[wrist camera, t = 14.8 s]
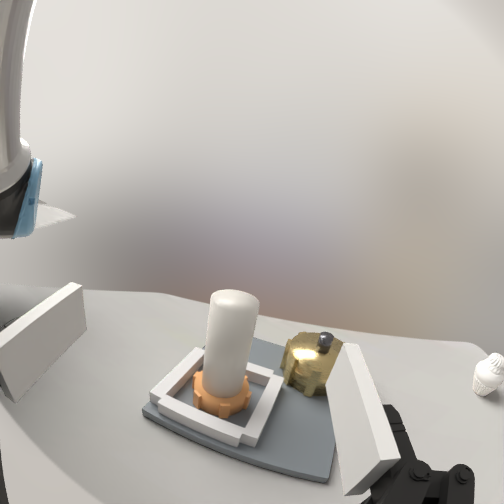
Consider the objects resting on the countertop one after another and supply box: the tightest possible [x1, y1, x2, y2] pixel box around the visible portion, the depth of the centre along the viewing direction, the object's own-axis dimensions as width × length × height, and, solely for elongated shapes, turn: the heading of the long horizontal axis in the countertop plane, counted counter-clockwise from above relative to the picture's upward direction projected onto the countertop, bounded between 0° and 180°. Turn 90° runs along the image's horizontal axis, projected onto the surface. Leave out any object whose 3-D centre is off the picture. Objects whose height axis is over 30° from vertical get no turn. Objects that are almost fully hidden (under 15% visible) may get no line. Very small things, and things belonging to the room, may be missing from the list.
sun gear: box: [280, 332, 345, 397], centre depth 31 cm, size 8×8×6 cm
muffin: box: [473, 353, 504, 396], centre depth 27 cm, size 6×6×7 cm
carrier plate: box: [142, 337, 336, 483], centre depth 28 cm, size 18×19×2 cm
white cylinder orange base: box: [192, 290, 260, 418], centre depth 24 cm, size 6×6×12 cm
